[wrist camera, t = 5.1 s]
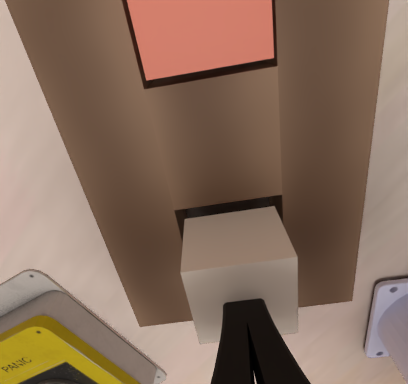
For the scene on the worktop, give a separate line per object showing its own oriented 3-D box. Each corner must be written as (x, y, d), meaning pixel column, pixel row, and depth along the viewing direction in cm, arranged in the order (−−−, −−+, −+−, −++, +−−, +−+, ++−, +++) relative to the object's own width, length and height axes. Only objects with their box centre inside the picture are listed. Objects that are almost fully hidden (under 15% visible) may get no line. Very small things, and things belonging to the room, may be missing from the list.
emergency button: (73, 463, 23) (-110, 374, 17) (91, 402, 27) (-52, 312, 21) (167, 432, 21) (-5, 317, 15) (172, 370, 25) (38, 258, 18)
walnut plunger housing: (360, -218, 9) (429, -326, 6) (329, 263, 18) (352, 300, 16) (-2, -133, 10) (-77, -198, 7) (147, 286, 19) (139, 326, 16)
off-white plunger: (274, 205, 12) (297, 257, 10) (277, 273, 14) (297, 332, 11) (184, 218, 13) (180, 272, 10) (199, 283, 15) (199, 344, 12)
